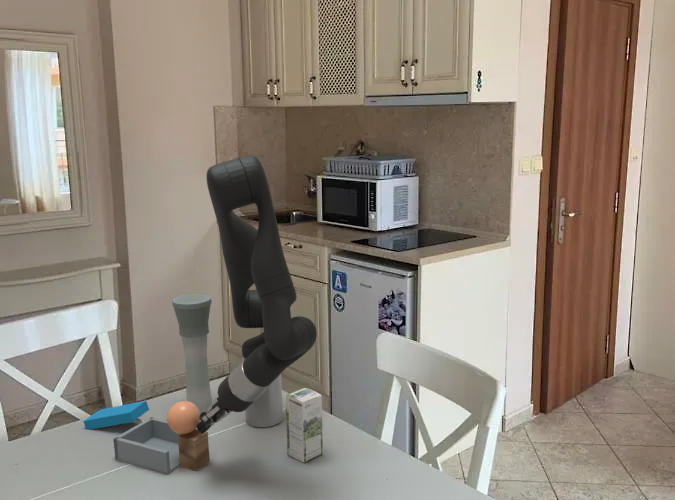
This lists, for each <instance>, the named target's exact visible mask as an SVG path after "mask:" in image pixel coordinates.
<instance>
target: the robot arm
mask: <svg viewBox="0 0 675 500" xmlns="http://www.w3.org/2000/svg"><path fill="white" fill-rule="evenodd" d="M206 186H207V189H208V194H209V198H210V201H211V203H212V207H213V212H214V214H215V218H216V221H217V225H218V230H219V235H220V236H219V237H220V243H221V249H222V255H223V260H224V264H225V269H226V272H227V276H228V281H229V285H230V293H231V302H232V311H233V317H234V322H235V323H236V325H237V326H238V327H240V328H242V329H262V330H263V332H262V333H260V334H257V335H256V336H254V337H251V338H249V339H247V340H245V341H244V342H243V343H242V345H241V356H242V357H241V358H242V362H241V363H239V364H237V366H236V367H235V368H234V369H232V371H231V372H230V373H229V374H228V375H227V376H226V377H225V379H223V380H222V381H221V382H220V383H219V385H218V386H217V387H218V388H217V397H216V398H215V399H214V400H212V405H211V406H210V407H209V408H208V409H207V411H205V412H202V413H201V414H200V417H199V419H200V422H199V423H198V424H197V425H196V428H197V429H198V430H199V432H200V433H201V434H203V433H204V432H208V430H210V428H212V427H213V426H215V425H214V424H216V423H219V422H220V421H222V420H223V419H225V418H226V417H227V416H229V414H231V413H232V412H234V413H243V412H245V422H246V423H247V424H248V425H249V426H251V427H255V428H269V427H270V428H271V427H274V426H276V425H277V424H280V423H281V422H282V421H283V419H284V409H283V386H282V384H283V383H282V373H283V372H284V371H285V370H286V369H287V368H289V367H290V366H291V365H293V364H294V363H295V362H297V361H298V360H299V359H301V357H303V356H304V355H306V353H308V352H309V351H310V350H311V349H312V347H314V345H315V343H316V341H317V337H318V336H317V335H318V332H317V327H316V325H315V323H314V322H313V321H312V319H310V318H308V317H305V316H300V315H299V316H298V315H297V316H293V317H292V315H291V314H292V313H291V307H292V305H293V304H294V303H295V302H296V300H297V298H298V297H297V292H296V288H295V286H294V283H293V278H292V275H291V273H290V270H289V268H288V264H287V261H286V257H285V253H284V250H283V246H282V241H281V237H280V231H279V226H278V225H279V224H278V221H277V217H276V211H275V207H274V203H273V199H272V194H271V193H272V192H271V190H270V185H269V181H268V178H267V175H266V172H265V170H264V166H263V165H262V163H261V161H260V160H259V158H258V157H257V156H256V155H253V154H248V155H244V156H241V157H236V158H233V159H229V160H226V161H222V162H219V163H215V164H213V165H210V167H209V168H208V169H207V171H206ZM252 204H255V205H256V209H257V214H258V226H257V228H256V227H255V226H253V225H252V224H250V223H249V222H247V221H245V220H244V219H243V218H241V217H240V216H239V215H237V214H236V212H234V210H236V209H240V208H243V207H246V206H250V205H252ZM253 285H254V287H255V289H251V287H252V286H253Z"/></svg>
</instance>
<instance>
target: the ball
mask: <svg viewBox="0 0 675 500" xmlns="http://www.w3.org/2000/svg"><path fill="white" fill-rule="evenodd" d="M199 417H200V412H199V409H198V408H197V406H196V405H194V404H193V403H191V402H188V401H187V400H181V401H178V402H175V404H173V405H172V406H171V407H170V408H169V410H168V413H167V417H166V421H167V422H168V425H169V427H170V428H171V429H172V430H173V431H174V432H175V433H178V434H188V433H190V432H192V431H194V430H195V429H196V425H197V424H198V423H199V422H200V419H199Z"/></svg>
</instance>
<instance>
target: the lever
mask: <svg viewBox="0 0 675 500" xmlns="http://www.w3.org/2000/svg"><path fill="white" fill-rule="evenodd" d="M149 411H150V408H149V406H148V402H147V400H142V401H139V402H138V401H137V402H132V403H127V404H121V405H116V406H112V407H107V408H101V409H99V410H98V411H96V412H95V413H93V414H91V415H90V416H89V417H87V418H86V419H84V420H82V421H83V424H84V427H85V429H86V430H95V429H99V428H106V427H111V426H118V425H121V424H122V425H123V424H128V423H134V424H137V425H138V424H140V423H142V422H144V421H145V420H144V419H140V418H141V417H142V416H143V415H145V414H146V413H147V412H149Z"/></svg>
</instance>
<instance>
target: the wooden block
mask: <svg viewBox="0 0 675 500" xmlns="http://www.w3.org/2000/svg"><path fill="white" fill-rule="evenodd" d="M178 445H179V457H180V466H179V467H181V468H184V469H188V470H190V471H191V470H192V471H195V472H198V471H199V470H200V469H201V468H203V467H204V466H206V465H207V464H208V463H210V461H211V459H210V445H209V432H208V431H206V432H204V433H203V434H201V433H200V432H199V430H198V429H195V430H194V431H192V432H190V433H188V434H181V435H180V436H178Z"/></svg>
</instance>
